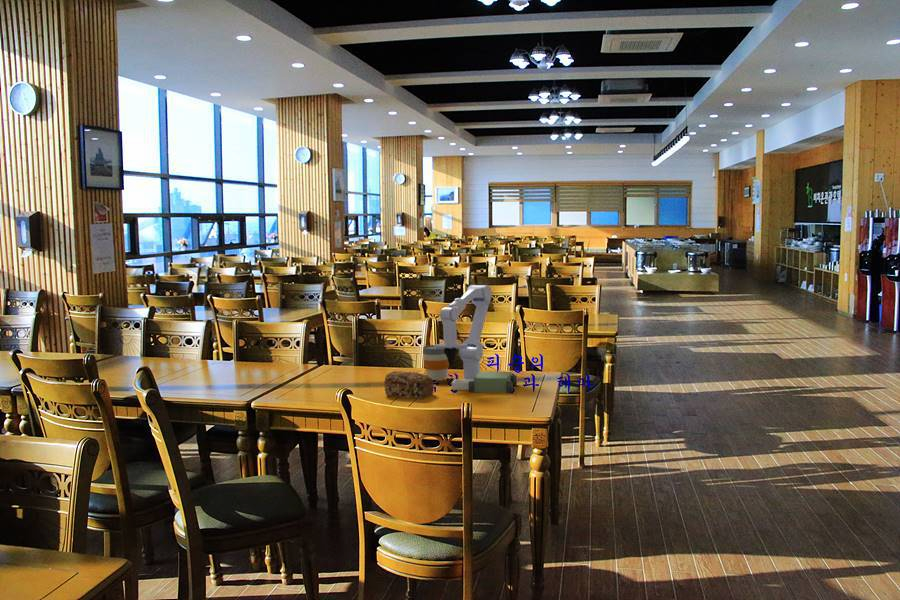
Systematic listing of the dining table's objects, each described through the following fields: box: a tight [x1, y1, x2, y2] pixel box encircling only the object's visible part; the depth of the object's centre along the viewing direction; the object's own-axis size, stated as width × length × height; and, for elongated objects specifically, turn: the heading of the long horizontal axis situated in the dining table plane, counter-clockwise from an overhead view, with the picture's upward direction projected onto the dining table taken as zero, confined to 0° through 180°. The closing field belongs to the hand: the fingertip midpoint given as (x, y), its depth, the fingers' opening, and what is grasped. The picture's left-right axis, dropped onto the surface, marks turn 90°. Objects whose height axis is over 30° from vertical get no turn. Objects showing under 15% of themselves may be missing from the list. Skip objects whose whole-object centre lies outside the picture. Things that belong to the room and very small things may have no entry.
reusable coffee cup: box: [422, 344, 450, 381], centre depth 354 cm, size 13×12×15 cm
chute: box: [451, 378, 474, 391], centre depth 331 cm, size 7×10×3 cm
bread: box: [384, 370, 434, 400], centre depth 321 cm, size 19×11×10 cm, turn 59°
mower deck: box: [468, 371, 518, 393], centre depth 328 cm, size 18×18×6 cm
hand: (451, 365), depth 335 cm, fingers closed
